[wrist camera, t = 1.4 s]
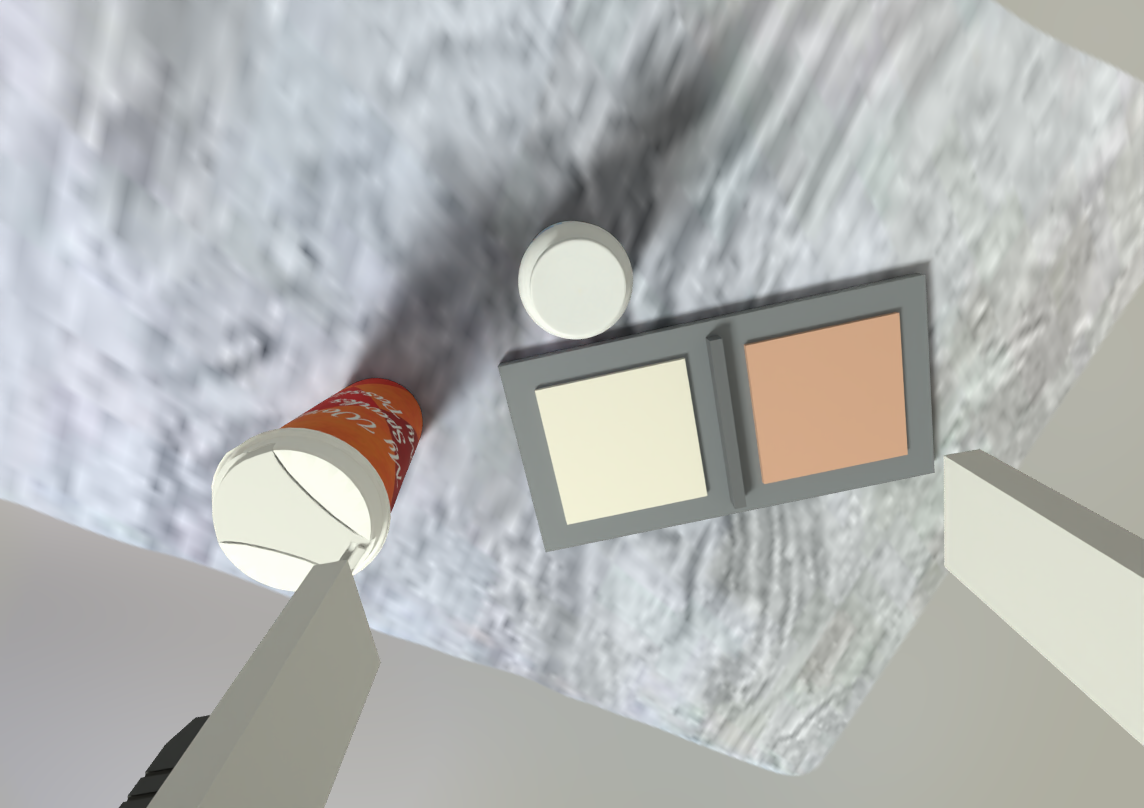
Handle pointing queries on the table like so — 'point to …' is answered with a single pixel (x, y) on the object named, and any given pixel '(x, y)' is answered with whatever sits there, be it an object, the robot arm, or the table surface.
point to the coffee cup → (317, 485)
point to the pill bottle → (575, 280)
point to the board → (726, 413)
